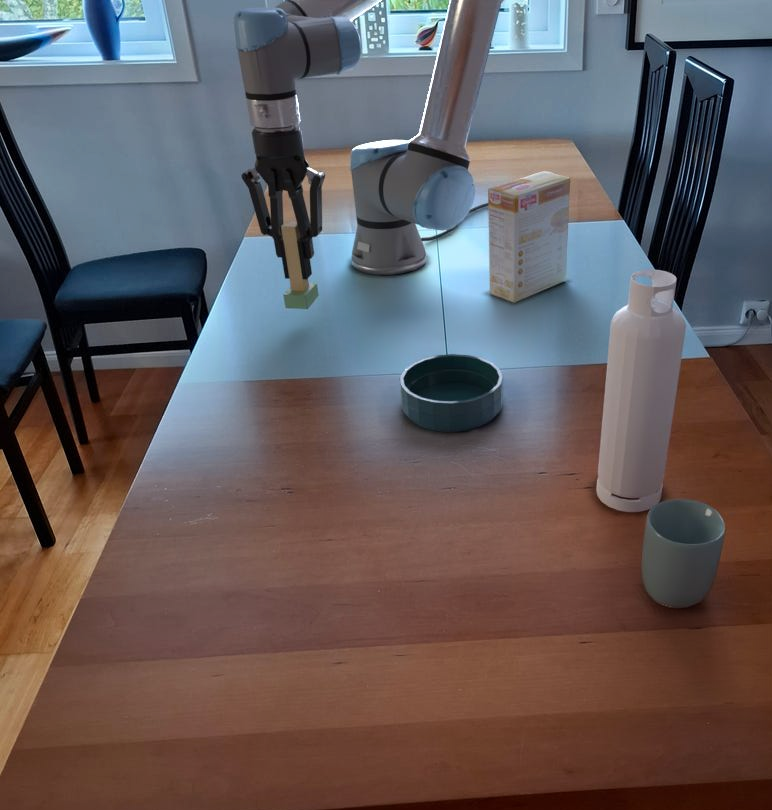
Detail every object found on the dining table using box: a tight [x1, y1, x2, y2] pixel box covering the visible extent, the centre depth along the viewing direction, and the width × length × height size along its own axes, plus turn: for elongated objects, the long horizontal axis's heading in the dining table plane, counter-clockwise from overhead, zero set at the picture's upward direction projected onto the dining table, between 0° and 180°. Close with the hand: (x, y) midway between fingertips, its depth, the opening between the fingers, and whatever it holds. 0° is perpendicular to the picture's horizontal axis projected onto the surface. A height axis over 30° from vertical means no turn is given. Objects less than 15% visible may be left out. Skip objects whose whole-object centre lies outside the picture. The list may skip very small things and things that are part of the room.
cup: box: [640, 498, 726, 609], centre depth 84 cm, size 8×8×10 cm
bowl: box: [399, 353, 504, 433], centre depth 118 cm, size 15×15×5 cm
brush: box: [281, 221, 319, 310], centre depth 136 cm, size 6×4×13 cm, turn 171°
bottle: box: [595, 269, 687, 513], centre depth 93 cm, size 8×8×28 cm
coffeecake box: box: [487, 170, 571, 304], centre depth 150 cm, size 15×7×20 cm, turn 134°
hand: (298, 275), depth 138 cm, fingers closed on brush, 2 cm apart
